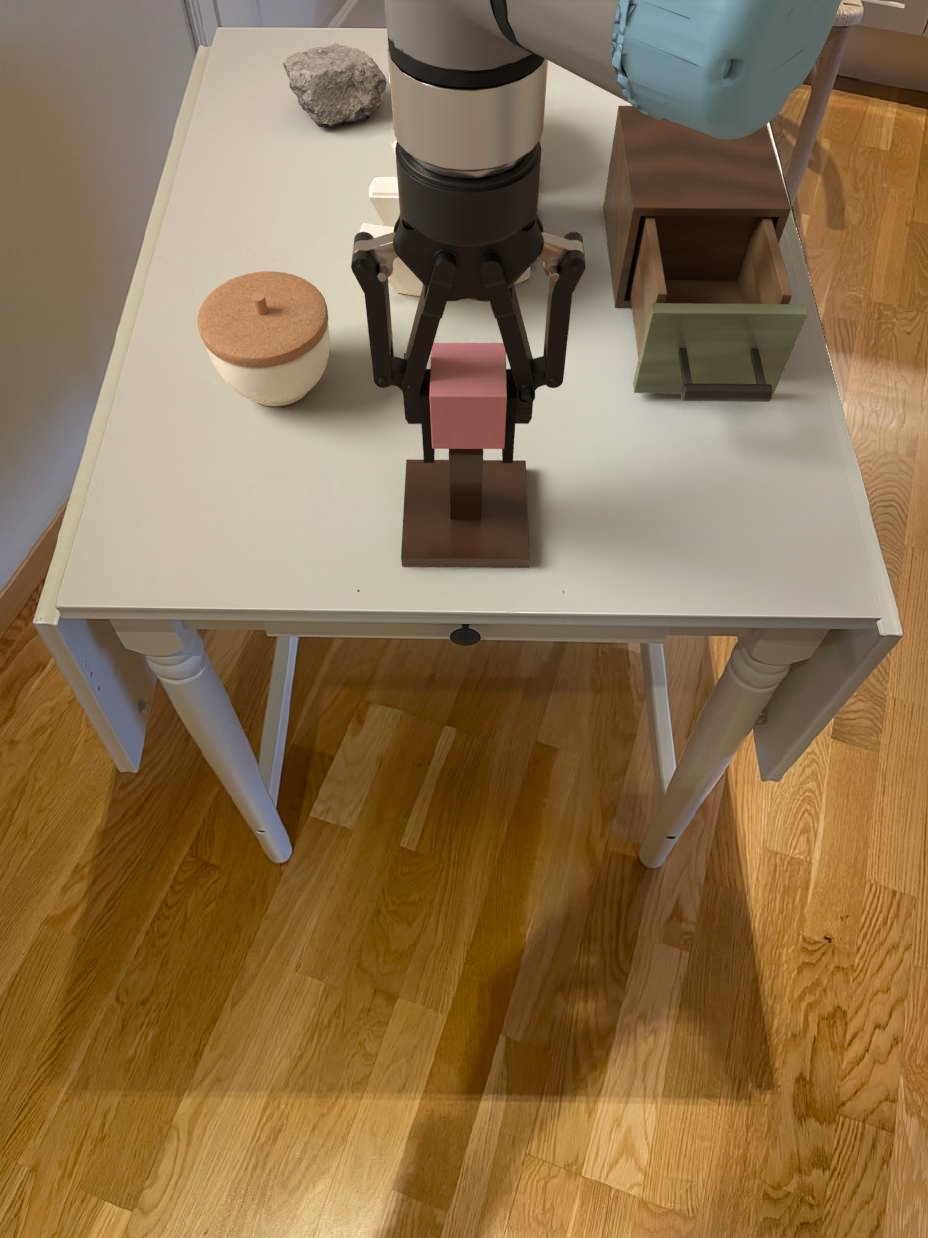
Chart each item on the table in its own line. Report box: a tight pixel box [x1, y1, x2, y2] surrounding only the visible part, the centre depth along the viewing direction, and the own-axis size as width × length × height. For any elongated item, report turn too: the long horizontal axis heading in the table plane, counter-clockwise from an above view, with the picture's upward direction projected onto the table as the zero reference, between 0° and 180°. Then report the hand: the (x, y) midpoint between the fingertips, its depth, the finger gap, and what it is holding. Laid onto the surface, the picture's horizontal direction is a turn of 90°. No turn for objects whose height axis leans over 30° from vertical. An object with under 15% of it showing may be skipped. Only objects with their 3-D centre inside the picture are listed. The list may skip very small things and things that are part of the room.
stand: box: [400, 449, 530, 568], centre depth 68 cm, size 10×10×9 cm
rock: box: [282, 42, 388, 128], centre depth 99 cm, size 11×8×10 cm
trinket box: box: [197, 270, 331, 407], centre depth 75 cm, size 11×11×9 cm
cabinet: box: [602, 105, 792, 309], centre depth 84 cm, size 16×14×11 cm
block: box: [430, 342, 507, 450], centre depth 60 cm, size 5×5×5 cm
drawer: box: [628, 216, 808, 403], centre depth 76 cm, size 20×12×9 cm, turn 0°
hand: (468, 448), depth 64 cm, fingers closed on block, 5 cm apart
